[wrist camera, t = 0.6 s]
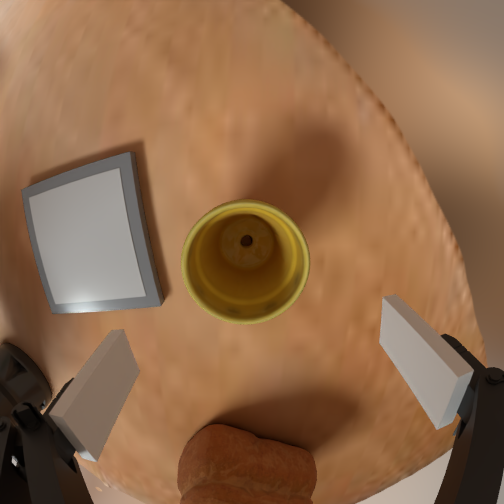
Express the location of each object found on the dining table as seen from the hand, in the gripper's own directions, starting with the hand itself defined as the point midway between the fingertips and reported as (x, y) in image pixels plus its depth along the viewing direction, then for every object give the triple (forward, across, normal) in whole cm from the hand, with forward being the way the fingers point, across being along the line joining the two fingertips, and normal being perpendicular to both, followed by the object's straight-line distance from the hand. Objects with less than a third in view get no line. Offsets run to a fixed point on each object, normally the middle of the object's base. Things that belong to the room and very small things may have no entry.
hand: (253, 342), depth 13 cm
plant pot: (+19, 0, +1) cm, 20 cm away
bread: (+19, -6, -38) cm, 43 cm away
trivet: (+19, -20, +4) cm, 28 cm away
